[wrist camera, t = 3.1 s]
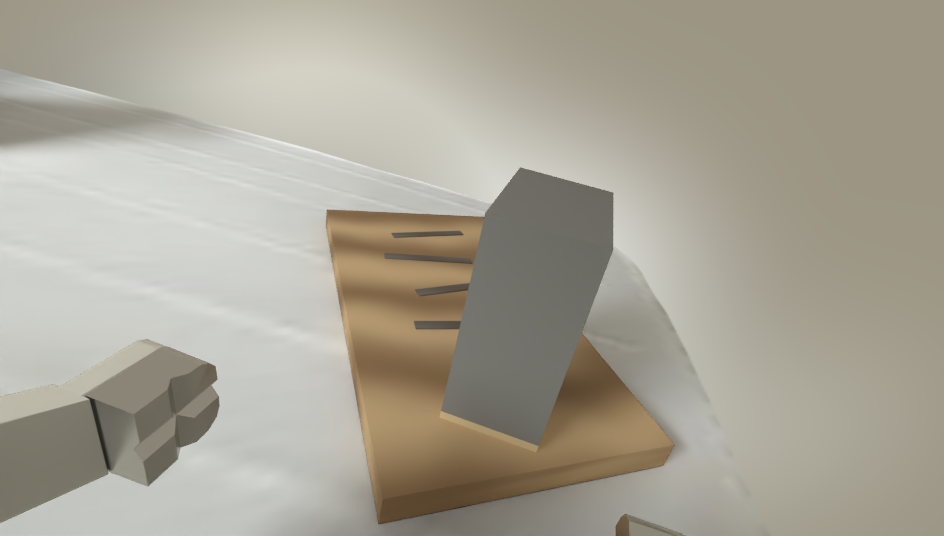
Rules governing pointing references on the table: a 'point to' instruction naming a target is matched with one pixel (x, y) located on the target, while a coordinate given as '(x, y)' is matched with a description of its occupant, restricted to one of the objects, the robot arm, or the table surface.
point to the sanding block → (527, 304)
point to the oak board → (427, 370)
